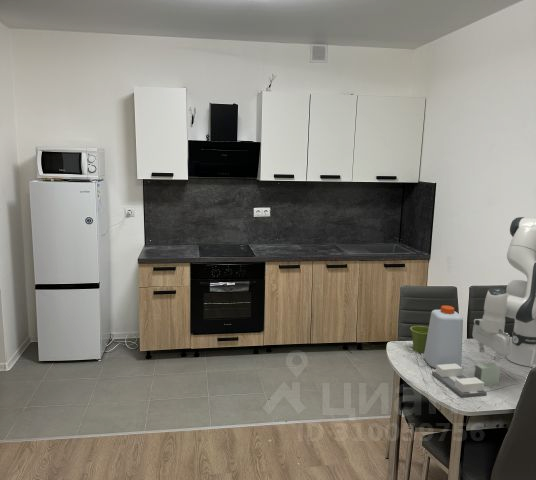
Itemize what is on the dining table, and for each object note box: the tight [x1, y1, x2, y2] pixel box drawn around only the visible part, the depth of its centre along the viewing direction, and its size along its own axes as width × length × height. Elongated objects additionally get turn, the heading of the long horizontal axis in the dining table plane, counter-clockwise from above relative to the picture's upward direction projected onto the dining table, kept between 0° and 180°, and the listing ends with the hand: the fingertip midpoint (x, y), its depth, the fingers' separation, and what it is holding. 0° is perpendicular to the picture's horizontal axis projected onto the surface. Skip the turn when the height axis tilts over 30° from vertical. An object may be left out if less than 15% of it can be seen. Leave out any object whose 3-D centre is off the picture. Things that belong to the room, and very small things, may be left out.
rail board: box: [431, 364, 488, 399], centre depth 204 cm, size 12×21×5 cm, turn 14°
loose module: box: [473, 362, 501, 386], centre depth 208 cm, size 9×4×8 cm, turn 104°
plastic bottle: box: [423, 305, 464, 369], centre depth 224 cm, size 15×15×28 cm
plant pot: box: [409, 325, 429, 354], centre depth 240 cm, size 12×12×11 cm
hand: (489, 356), depth 206 cm, fingers open, 8 cm apart
